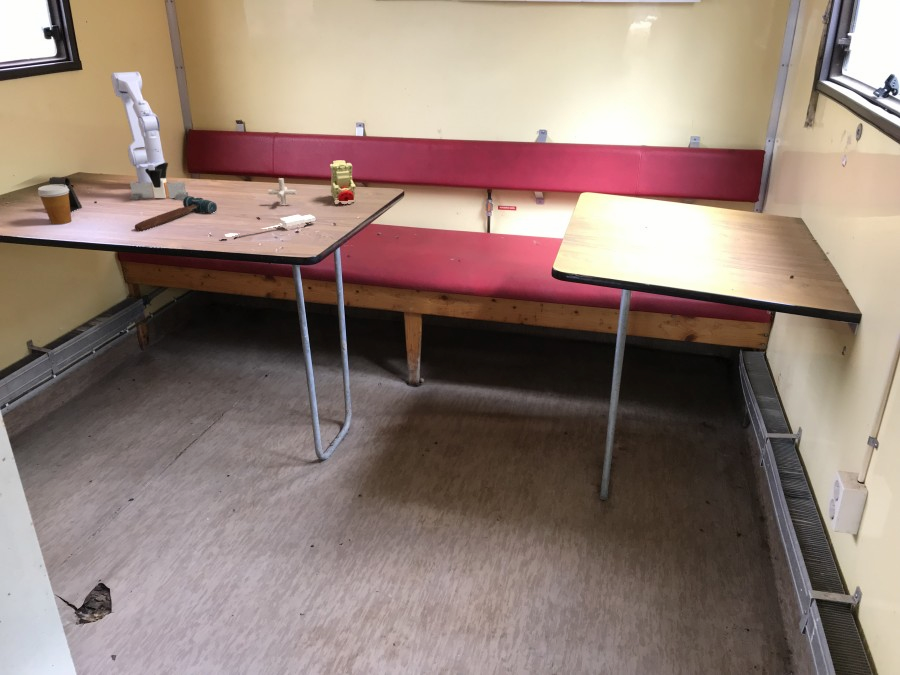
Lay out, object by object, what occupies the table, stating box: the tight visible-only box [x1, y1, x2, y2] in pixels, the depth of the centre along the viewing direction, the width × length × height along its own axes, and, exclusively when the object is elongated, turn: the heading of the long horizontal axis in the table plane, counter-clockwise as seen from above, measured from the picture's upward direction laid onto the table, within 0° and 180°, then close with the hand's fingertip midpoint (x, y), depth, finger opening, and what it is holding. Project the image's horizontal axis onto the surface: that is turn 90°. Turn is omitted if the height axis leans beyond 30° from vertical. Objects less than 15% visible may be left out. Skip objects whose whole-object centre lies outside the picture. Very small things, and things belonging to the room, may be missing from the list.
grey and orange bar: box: [129, 181, 189, 201], centre depth 263 cm, size 6×20×6 cm, turn 90°
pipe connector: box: [267, 177, 297, 205], centre depth 253 cm, size 10×10×10 cm
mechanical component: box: [329, 159, 357, 201], centre depth 257 cm, size 8×17×20 cm, turn 19°
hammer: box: [134, 195, 218, 232], centre depth 238 cm, size 14×5×30 cm
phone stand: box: [48, 176, 83, 213], centre depth 245 cm, size 9×6×12 cm, turn 170°
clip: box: [152, 177, 168, 198], centre depth 262 cm, size 5×4×6 cm
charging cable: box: [223, 214, 317, 237], centre depth 226 cm, size 5×32×3 cm, turn 126°
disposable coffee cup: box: [37, 184, 72, 225], centre depth 233 cm, size 10×10×12 cm
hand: (160, 184), depth 262 cm, fingers open, 7 cm apart
